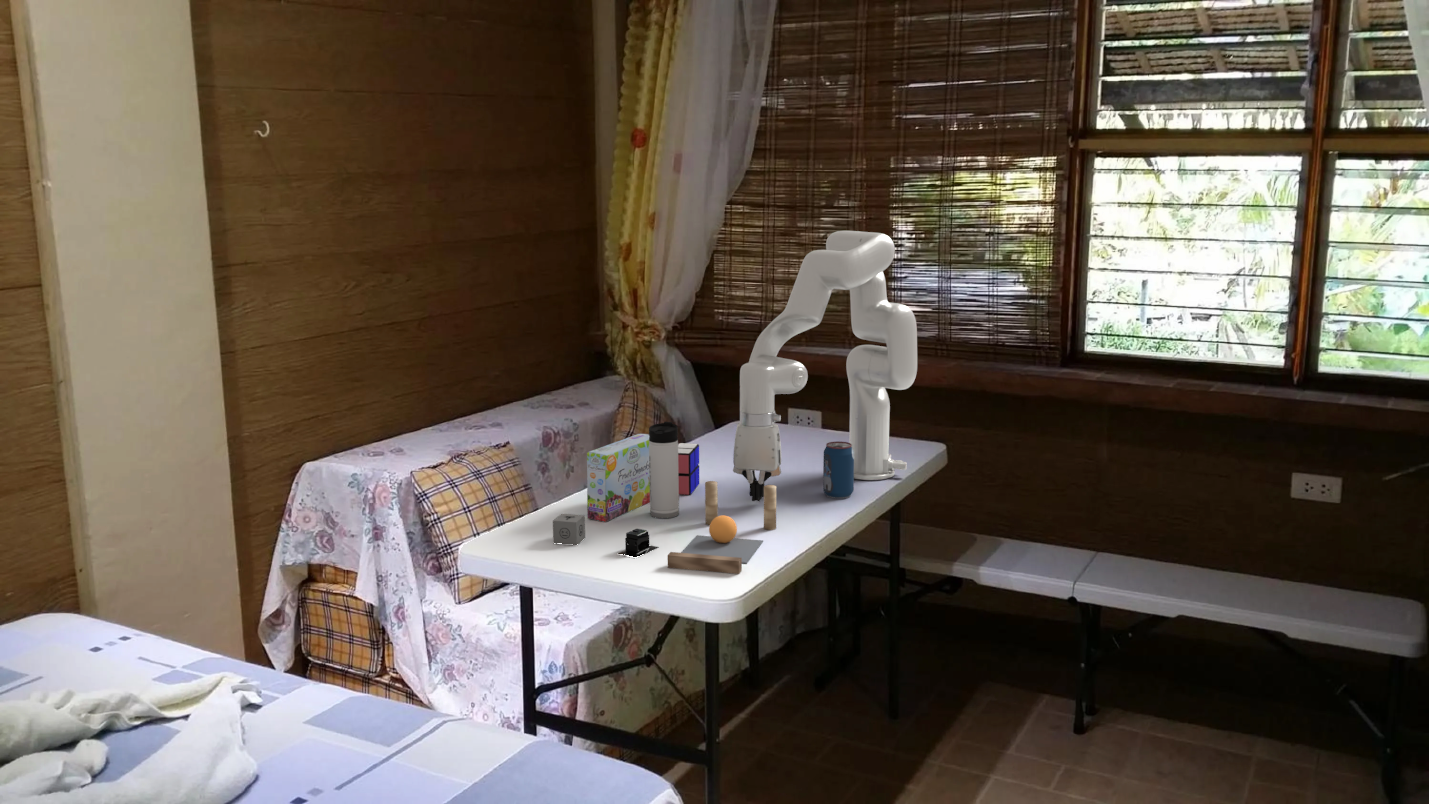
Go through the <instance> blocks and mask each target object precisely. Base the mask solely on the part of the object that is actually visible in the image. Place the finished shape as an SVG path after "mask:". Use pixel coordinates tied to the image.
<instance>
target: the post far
mask: <svg viewBox="0 0 1429 804" xmlns="http://www.w3.org/2000/svg"><path fill="white" fill-rule="evenodd" d="M704 492H705V493H704V498H705V499H704V503H705V504H704V505H705V506H704V510H705V513H704V514H705V515H704V516H705V520H704V521H705V522H704V523H705V525H706V526H710V523H711V522H712V520H713V519H714V518H716V517H718V516H719V515H718V514H719V513H718V512H719V511H718V508H719V507H718V499H719V498H718V496H719V495H718V482H717V481H716V480H707V481H705V482H704Z"/></svg>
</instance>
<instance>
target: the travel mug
mask: <svg viewBox="0 0 1429 804" xmlns="http://www.w3.org/2000/svg"><path fill="white" fill-rule="evenodd" d="M678 430H679V429H678V425H677V424H675V423H673V421H664V422H661V423H659V422H658V423H655V424H653V425H651V426H649V427H648V435H649V436H650V437H649V475H650V503H649V507H650V508H649V514H650V516H651V517H653V518H655V517H656V518H657V519H671V518H675V517H678V515H679V514H680V508H679V507H680V500H679V499H680V498H679V497H680V495H679V477H678V444H679V439H678V438H679V437H678V435H679V434H678V432H679V431H678Z"/></svg>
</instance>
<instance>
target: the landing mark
mask: <svg viewBox="0 0 1429 804" xmlns="http://www.w3.org/2000/svg"><path fill="white" fill-rule="evenodd" d="M763 542H764V540H761V539H751V538H750V539H749V538H737V537H734V538H733V540H731V541H730V542H728V543H719V542H716V541H715V540H714V539H713V538H712V537H711V535H700V534H697V535H695V537H694V538H693V539H692V540H691V541H690V542H689V543H688V544H687V545H686V546H685V547H684V549H682V550H681V552H680V553H690V554H702V555H714V556H725V557H737V558H742V564H748V563H749V561H750V560H751V559H752V557H753V556H754V555H755V553H756V552H757V550H758V549H760V546H761V545H762V544H763Z"/></svg>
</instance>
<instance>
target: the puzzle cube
mask: <svg viewBox="0 0 1429 804" xmlns="http://www.w3.org/2000/svg"><path fill="white" fill-rule="evenodd" d="M699 464H700V445H699V444H698V443H688V442H687V443H686V442H685V443H683V442H680V443H679V442H678V477H679V496H691V495H692V493H694V491H695V490H696V488H697V487H698V486H699V485H700V465H699Z"/></svg>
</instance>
